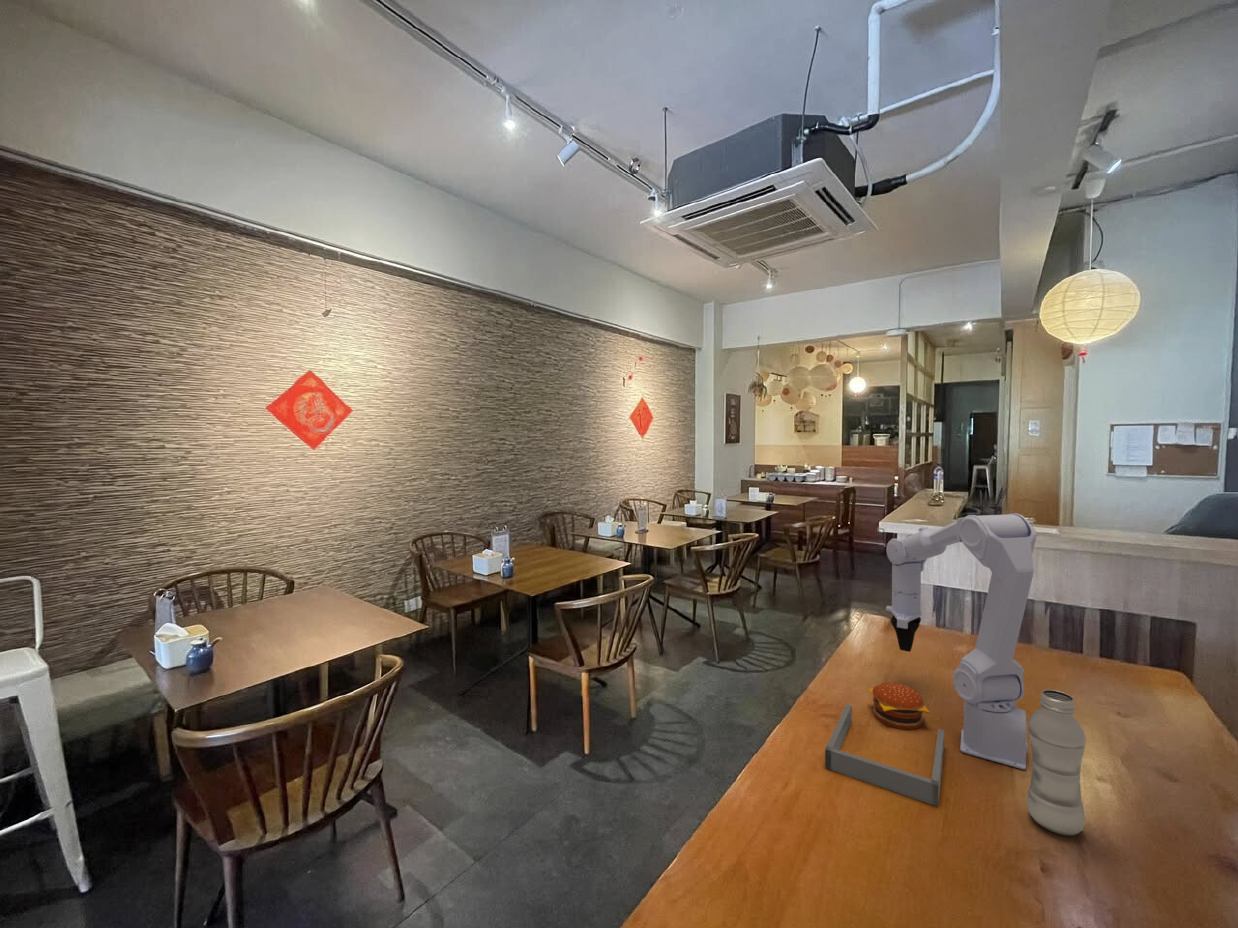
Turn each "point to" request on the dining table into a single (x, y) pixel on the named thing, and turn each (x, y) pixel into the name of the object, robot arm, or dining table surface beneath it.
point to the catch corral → (883, 766)
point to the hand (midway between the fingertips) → (905, 649)
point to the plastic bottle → (1056, 765)
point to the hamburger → (898, 706)
